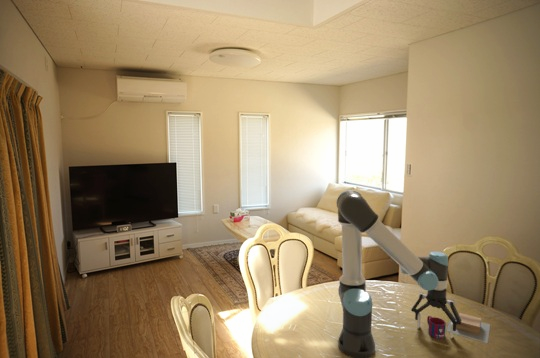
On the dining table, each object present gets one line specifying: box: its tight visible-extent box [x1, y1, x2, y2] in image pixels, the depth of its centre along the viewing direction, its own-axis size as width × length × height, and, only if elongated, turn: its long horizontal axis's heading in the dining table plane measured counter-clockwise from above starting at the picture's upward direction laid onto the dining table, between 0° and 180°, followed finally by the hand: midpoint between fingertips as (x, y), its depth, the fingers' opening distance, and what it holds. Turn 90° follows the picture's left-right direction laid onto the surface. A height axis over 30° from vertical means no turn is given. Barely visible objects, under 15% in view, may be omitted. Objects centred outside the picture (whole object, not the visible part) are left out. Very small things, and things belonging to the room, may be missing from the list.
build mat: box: [445, 313, 491, 344], centre depth 157 cm, size 18×16×1 cm
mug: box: [426, 315, 447, 340], centre depth 154 cm, size 7×10×7 cm
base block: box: [456, 312, 482, 335], centre depth 157 cm, size 9×9×4 cm
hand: (434, 331), depth 154 cm, fingers open, 13 cm apart
